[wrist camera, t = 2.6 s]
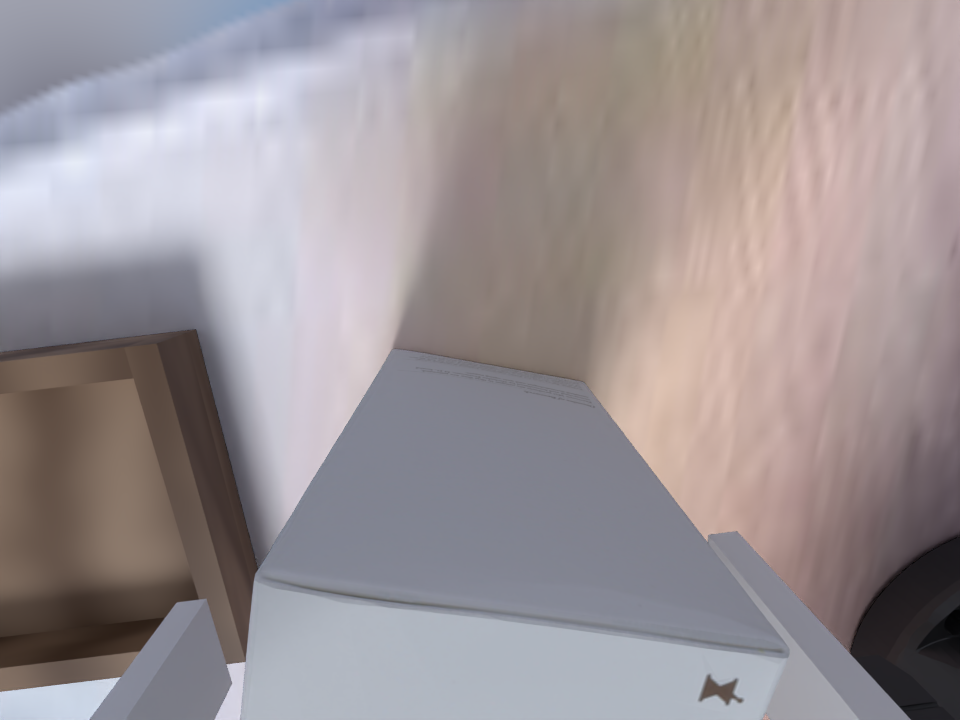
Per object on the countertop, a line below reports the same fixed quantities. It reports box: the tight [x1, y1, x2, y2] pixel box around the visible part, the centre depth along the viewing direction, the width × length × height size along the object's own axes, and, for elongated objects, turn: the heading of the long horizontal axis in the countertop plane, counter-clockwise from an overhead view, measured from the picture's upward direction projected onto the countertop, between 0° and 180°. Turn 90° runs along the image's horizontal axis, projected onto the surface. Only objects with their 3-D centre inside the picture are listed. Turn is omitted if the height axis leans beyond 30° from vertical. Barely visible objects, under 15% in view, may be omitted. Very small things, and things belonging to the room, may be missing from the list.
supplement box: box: [240, 349, 790, 720], centre depth 16 cm, size 9×9×15 cm
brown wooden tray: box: [0, 329, 258, 692], centre depth 22 cm, size 14×14×3 cm
